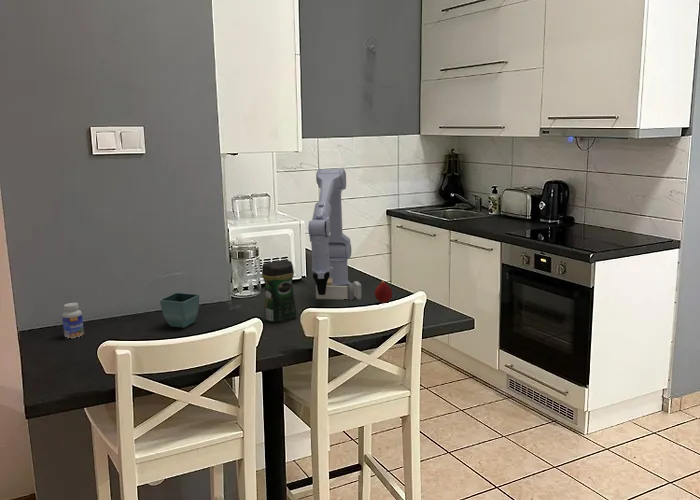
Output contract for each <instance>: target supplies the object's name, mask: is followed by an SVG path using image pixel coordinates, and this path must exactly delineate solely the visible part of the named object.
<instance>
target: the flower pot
mask: <svg viewBox="0 0 700 500" xmlns="http://www.w3.org/2000/svg"><path fill="white" fill-rule="evenodd" d="M159 303H160V306H161V312H162V315H163V318H164V319H165V321H166V323H167V324H168V325H169V326H170V327H175V328H183V329H185V328H187V327H189V326H190V325H192V324H194V323H195V320H196V319H197V317H198V315H199V308H200V294H197V293H196V294H195V293H187V292H186V293H184V292H174V293H172V294H170V295H168V296H166V297H163V298H161V299H160V300H159Z"/></svg>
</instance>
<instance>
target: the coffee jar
mask: <svg viewBox="0 0 700 500" xmlns="http://www.w3.org/2000/svg"><path fill="white" fill-rule="evenodd" d="M294 274H295V272H294V265H293V263H292V261H290V260H287V259H281V260H274V261H269V262H265V263H263V264H262V266H261V277H262V279H263V282H264V319H265V320H266V321H267V322H269V323H284V322H287V321H290V320H293V319H296V318H297V308H296V301H295V295H294V289H293V281H294V280H293V278H294V276H295V275H294Z"/></svg>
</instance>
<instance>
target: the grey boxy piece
mask: <svg viewBox="0 0 700 500" xmlns="http://www.w3.org/2000/svg"><path fill="white" fill-rule="evenodd" d="M347 286H348V300H349V299H350V301H353V300H352V299H354V300H355V298H356V300H362V284H361V283H360V282H359V281H358V280H355V281H353V282H350V283H349V284H348V285H347Z"/></svg>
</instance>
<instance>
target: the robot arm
mask: <svg viewBox="0 0 700 500" xmlns="http://www.w3.org/2000/svg"><path fill="white" fill-rule="evenodd" d="M315 174H316V175H315V178H316V184H317V186H318V188H319V200H318V201H317V202H316V203H314V204H315V205H314V208H313V212H312V213H313V215H312V218H311V220H309V222H308V224H307V225H308V227H307V229H308V230H307V231H308V235H309V242H310V244H311V271H312V272H313V273H312V278H313V280H314V282H315V286H316V285H317V290H318V294H319V295H325V293H326V285H327V281H328V279H329V278H332V284H333V286H348V284H349V283H351V281H350V280H349V272H348V269H349V268H348V267H349V266H348V260H349V259H351V256H352V245H351V238H350V237H348V236H347V235H346V234H344V231H343V217H342V216H343V210H342V208H343V207H342V192H343V191H345V190H346V189H347V172H346V170H345V169H344V168H343V167H341V168H318V169H317V170H316V173H315Z"/></svg>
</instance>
